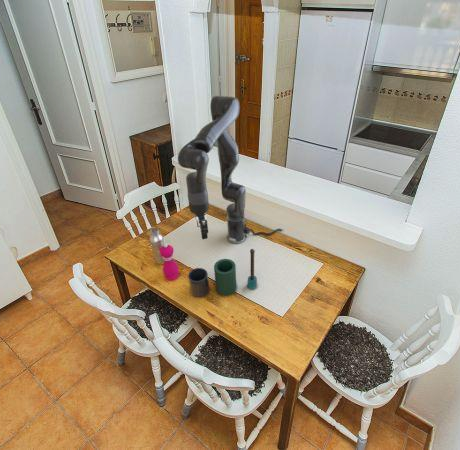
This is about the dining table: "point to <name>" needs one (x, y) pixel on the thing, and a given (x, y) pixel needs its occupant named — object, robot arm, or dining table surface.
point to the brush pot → (198, 282)
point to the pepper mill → (169, 262)
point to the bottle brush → (252, 273)
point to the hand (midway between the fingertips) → (202, 232)
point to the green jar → (225, 277)
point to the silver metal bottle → (156, 245)
